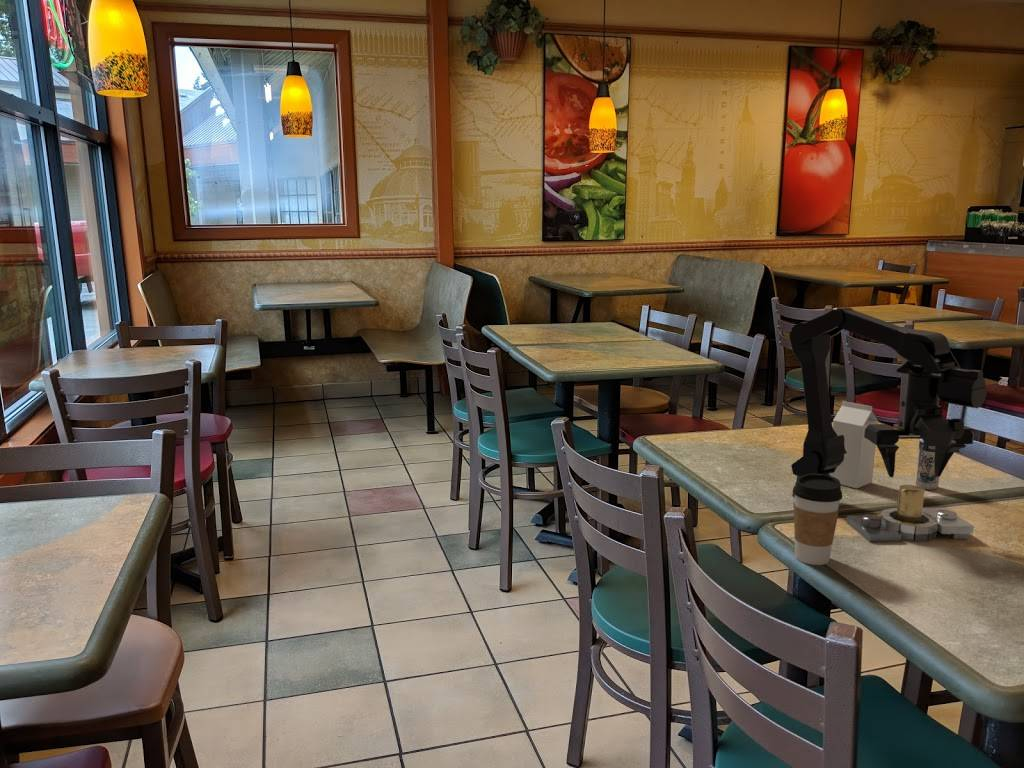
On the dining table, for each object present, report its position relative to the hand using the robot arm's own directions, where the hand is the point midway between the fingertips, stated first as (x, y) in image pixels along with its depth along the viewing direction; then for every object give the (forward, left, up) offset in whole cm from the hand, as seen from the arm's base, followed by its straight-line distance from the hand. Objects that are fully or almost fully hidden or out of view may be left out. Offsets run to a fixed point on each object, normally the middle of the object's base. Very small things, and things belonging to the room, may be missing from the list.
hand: (914, 476), depth 155 cm
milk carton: (+2, +30, -12) cm, 32 cm away
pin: (0, 0, -11) cm, 11 cm away
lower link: (-3, 0, -11) cm, 12 cm away
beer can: (+18, +26, -12) cm, 34 cm away
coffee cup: (-24, -12, -12) cm, 29 cm away
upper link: (+2, 0, -11) cm, 12 cm away
